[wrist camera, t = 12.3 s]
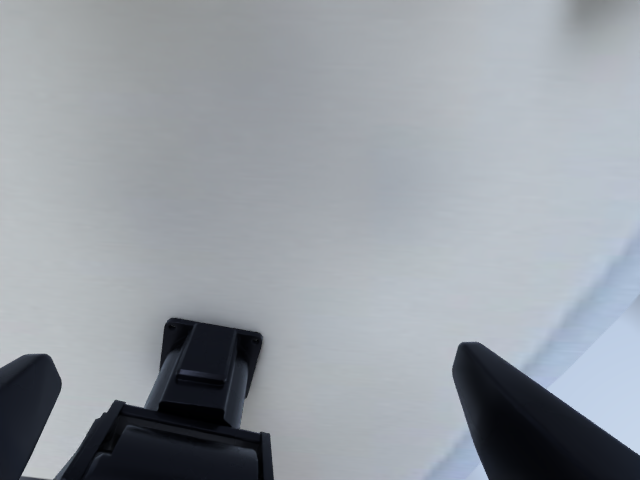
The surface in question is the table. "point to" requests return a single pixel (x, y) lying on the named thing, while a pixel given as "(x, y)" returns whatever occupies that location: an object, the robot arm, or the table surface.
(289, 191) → the table surface
